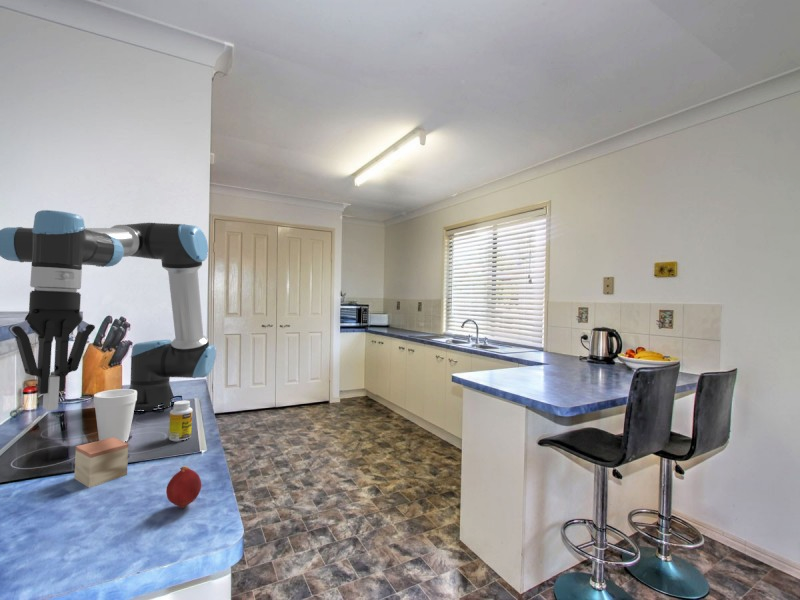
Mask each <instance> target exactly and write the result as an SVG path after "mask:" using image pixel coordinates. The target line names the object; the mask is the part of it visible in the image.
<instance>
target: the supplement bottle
mask: <svg viewBox="0 0 800 600" xmlns="http://www.w3.org/2000/svg"><path fill="white" fill-rule="evenodd" d="M193 411H194V410H193V408H192V407H191V401H190V400H177V401H174V405H173V407H172V408H171V410H170V411H169V425H168V426H169V427H168V440H169V441H171V440H172V441H171V442H179V441H178V440H184V441H187V440H189V439H190V438H191V437H192V432H193V431H192V430H193ZM188 438H189V439H188ZM186 439H187V440H186Z"/></svg>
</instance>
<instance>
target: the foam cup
mask: <svg viewBox="0 0 800 600" xmlns="http://www.w3.org/2000/svg"><path fill="white" fill-rule="evenodd" d="M136 401H137V391H136V390H132V389H129V388H121V389H120V388H119V389H110V390H109V389H108V390H103V391H99V392H97V393H95V394H93V406H94V407H95V408H94V409H95V418H96V426H97V434H98V441H100V440H104V439H108V438H112V437H114V438H116V439H118V440H121V441H123V442H125V441H126V442H127V441H128V440H129V438H130V434H131V428H132V422H133V418H134V413H135V412H134V408H135V403H136ZM126 442H125V443H126Z"/></svg>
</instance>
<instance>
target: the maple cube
mask: <svg viewBox="0 0 800 600" xmlns="http://www.w3.org/2000/svg"><path fill="white" fill-rule="evenodd" d="M74 458H75V459H74V480H76V481H77V482H79V483H81V484H82V485H84V486H86V487H88V488H93V487H96V486H99V485H102V484H104V483H107V482H111V481H114V480H116V479H119V478H122V477H125V476H128V461H129V460H128V459H129V443H127V442H123V441H121V440H118V439H116V438H114V437H112V438H108V439H104V440H100V441H99V440H95V441H92V442H88V443H85V444H80V445H77V446H75V457H74Z"/></svg>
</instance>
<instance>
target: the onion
mask: <svg viewBox="0 0 800 600" xmlns="http://www.w3.org/2000/svg"><path fill="white" fill-rule="evenodd" d="M200 477H201V476H199V473H197V472H196V471H195V470H194V469H190V468H189V467H188V466H186V465H183V466H181V467H180V471H177V473H175V474H174V475H173V476H172V477H171V479H170V480H169V481H168V483H167V486H166V498H167V499H168V501H169V502H170V503H172V504H173V505H174V506H177V507H179V508H181V509H184V508H186V507H188V506H189V505H190V504H191V503H193V502H194V501H196V499H197V498H198V496H199V494H200V492H201V489H202V481H201V478H200Z"/></svg>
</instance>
